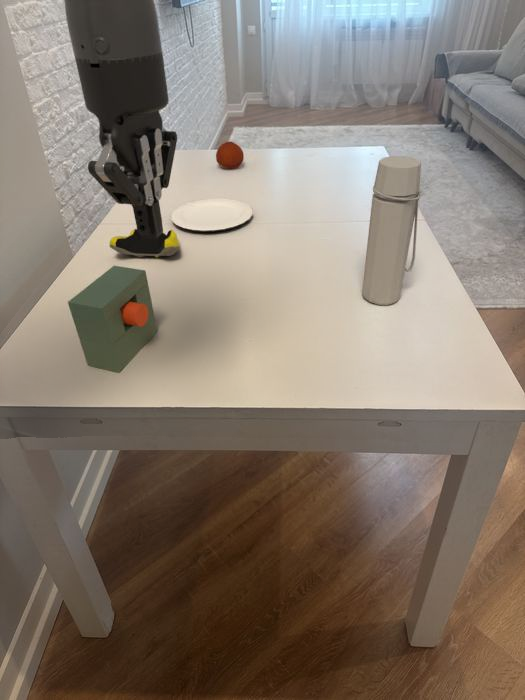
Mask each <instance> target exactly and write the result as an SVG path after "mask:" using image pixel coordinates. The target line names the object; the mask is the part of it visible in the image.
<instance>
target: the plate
mask: <svg viewBox="0 0 525 700" xmlns="http://www.w3.org/2000/svg"><path fill="white" fill-rule="evenodd" d="M252 217H253V209H252V207H251V206H250V205H248V204H247V203H245V202H242V201H239V200H235V199H230V198H207V199H199V200H196V201H195V200H193V201H191V202H188V203H185V204H183V205H181V206H178V207H177V208H176V209H174V211H173V212H172V213H171V215H170V219H171V222H172V223H173V224H174V225H175V226H177V227H179V228H181V229H184V230H187V231H191V232H219V231H226V230H230V229H233V228H237V227H239V226H241V225H243V224H245V223H247V222H248V221H249V220H251V218H252Z"/></svg>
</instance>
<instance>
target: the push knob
mask: <svg viewBox="0 0 525 700" xmlns="http://www.w3.org/2000/svg"><path fill="white" fill-rule="evenodd" d="M120 311H121V315H122V319H123V323H124V324H129V325H134V326H139V327H142V326H143V325H144V324H145V323H146V321H147V319H148V308H147V306H146V305H145V304H141V303H136V302H130V301H128V302H127V303H125V304H124V305H123V306H122V307H121V308H120Z"/></svg>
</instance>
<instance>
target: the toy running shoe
mask: <svg viewBox="0 0 525 700" xmlns="http://www.w3.org/2000/svg"><path fill="white" fill-rule="evenodd" d="M109 248H111V249H112V250H113V251H115V252H117V253H119V254H122V255H126V256H135V257H136V258H139V259H141V258H145V257H154V258H159V257H171V256H173V255H175V254H176V253H177V252H179V251H180V243H179V238H178V236H177V233H176V231H175V230H174V229H170V230H168V231H167V233H164V231H163V232H162V233H161V234H160V235H159V236H158V237H156V238H155V239H151V238H144V237H141V236H140V235H139V233H138V231H137V228H134V229H132V230H131V232H130V233H129V234H128V236H122V235H117V236H113V237H112V238H110V240H109Z"/></svg>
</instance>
